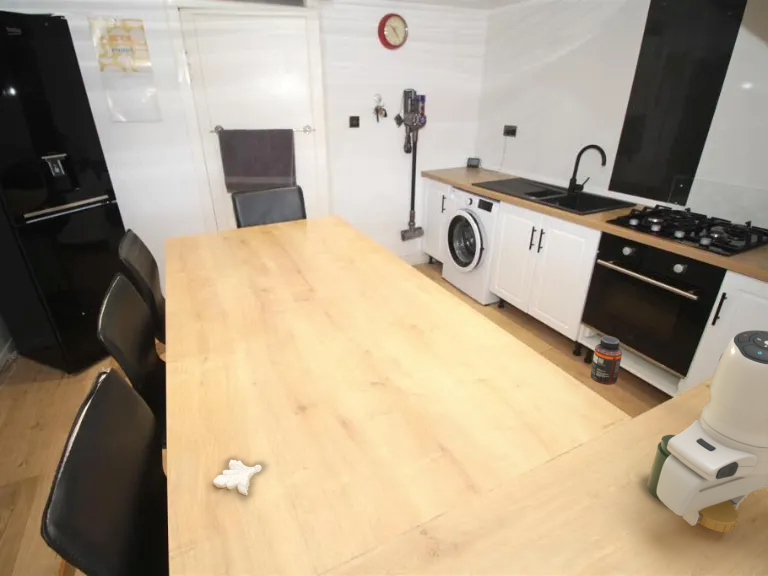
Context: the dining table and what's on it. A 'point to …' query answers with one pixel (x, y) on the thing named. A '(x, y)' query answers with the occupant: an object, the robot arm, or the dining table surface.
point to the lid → (719, 516)
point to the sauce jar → (658, 465)
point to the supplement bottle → (606, 361)
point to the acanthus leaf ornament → (236, 476)
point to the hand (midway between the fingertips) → (708, 514)
